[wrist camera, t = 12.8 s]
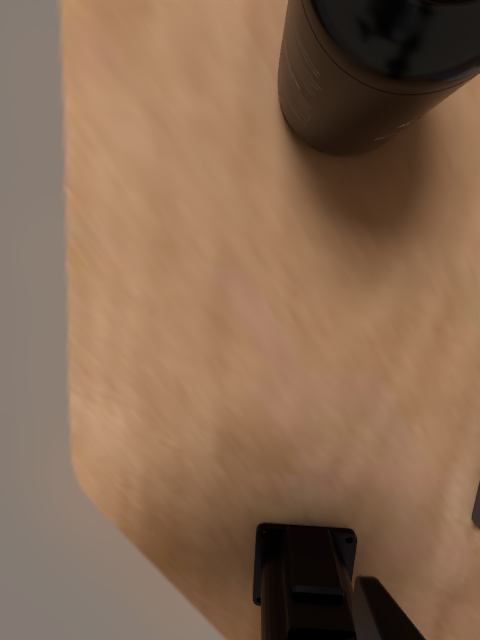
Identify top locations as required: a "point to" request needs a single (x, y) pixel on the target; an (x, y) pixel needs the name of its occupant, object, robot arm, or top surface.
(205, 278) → the top surface
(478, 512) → the ink pad
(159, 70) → the top surface
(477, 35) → the supplement bottle
